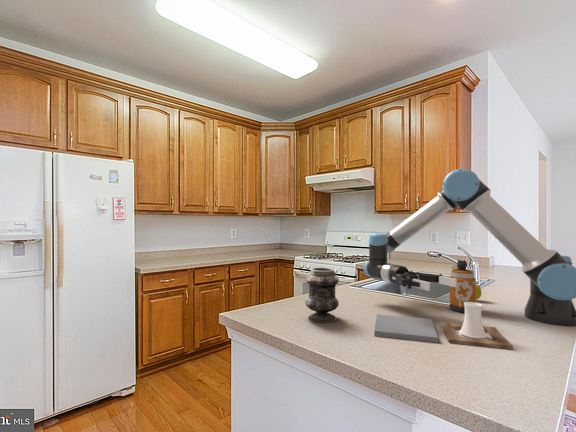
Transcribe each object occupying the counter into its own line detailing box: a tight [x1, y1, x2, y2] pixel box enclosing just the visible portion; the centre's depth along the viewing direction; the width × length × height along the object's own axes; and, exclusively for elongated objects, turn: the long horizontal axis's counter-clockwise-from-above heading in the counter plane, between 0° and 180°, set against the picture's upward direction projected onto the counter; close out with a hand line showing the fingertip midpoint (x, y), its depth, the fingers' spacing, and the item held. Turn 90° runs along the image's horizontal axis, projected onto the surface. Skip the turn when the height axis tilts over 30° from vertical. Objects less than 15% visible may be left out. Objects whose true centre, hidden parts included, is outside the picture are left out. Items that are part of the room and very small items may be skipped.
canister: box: [449, 259, 477, 314], centre depth 126 cm, size 9×11×20 cm
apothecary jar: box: [304, 266, 340, 323], centre depth 115 cm, size 12×12×18 cm
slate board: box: [374, 313, 439, 344], centre depth 104 cm, size 18×18×2 cm
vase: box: [458, 302, 488, 340], centre depth 98 cm, size 8×8×10 cm
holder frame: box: [440, 321, 514, 351], centre depth 98 cm, size 16×16×1 cm
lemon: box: [476, 283, 482, 301], centre depth 140 cm, size 6×6×8 cm
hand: (443, 284), depth 107 cm, fingers open, 13 cm apart
